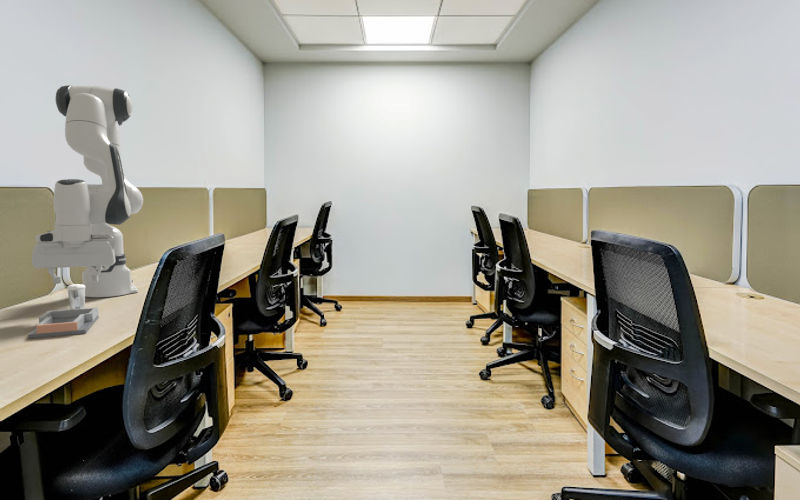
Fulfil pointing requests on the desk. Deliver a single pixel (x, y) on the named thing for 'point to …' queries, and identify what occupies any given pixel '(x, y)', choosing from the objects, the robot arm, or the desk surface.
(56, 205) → the robot arm
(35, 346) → the desk surface
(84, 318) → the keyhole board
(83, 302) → the milkshake
